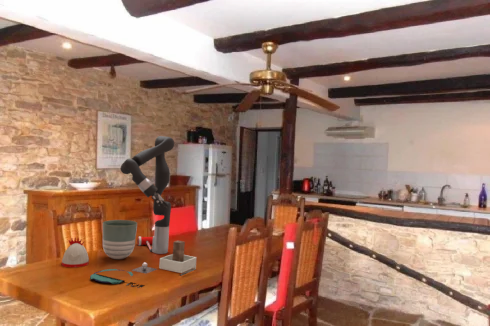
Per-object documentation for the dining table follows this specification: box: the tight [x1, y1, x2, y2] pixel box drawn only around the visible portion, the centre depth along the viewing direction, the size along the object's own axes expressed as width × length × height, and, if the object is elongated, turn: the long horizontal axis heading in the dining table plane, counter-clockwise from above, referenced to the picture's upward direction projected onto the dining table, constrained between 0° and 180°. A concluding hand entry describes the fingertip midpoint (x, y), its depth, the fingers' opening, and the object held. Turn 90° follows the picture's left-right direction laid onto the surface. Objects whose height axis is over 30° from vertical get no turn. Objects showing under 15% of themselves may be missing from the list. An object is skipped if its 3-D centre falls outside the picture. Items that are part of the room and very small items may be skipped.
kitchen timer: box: [61, 236, 90, 268], centre depth 225 cm, size 14×14×15 cm
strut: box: [172, 240, 186, 262], centre depth 226 cm, size 4×4×15 cm
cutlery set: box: [89, 268, 145, 289], centre depth 203 cm, size 20×30×2 cm, turn 73°
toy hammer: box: [136, 235, 154, 253], centre depth 272 cm, size 23×12×6 cm, turn 23°
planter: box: [102, 219, 138, 260], centre depth 242 cm, size 20×20×21 cm
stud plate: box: [131, 261, 158, 275], centre depth 218 cm, size 10×10×5 cm
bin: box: [158, 253, 197, 277], centre depth 226 cm, size 15×15×7 cm
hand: (166, 208), depth 237 cm, fingers open, 8 cm apart
